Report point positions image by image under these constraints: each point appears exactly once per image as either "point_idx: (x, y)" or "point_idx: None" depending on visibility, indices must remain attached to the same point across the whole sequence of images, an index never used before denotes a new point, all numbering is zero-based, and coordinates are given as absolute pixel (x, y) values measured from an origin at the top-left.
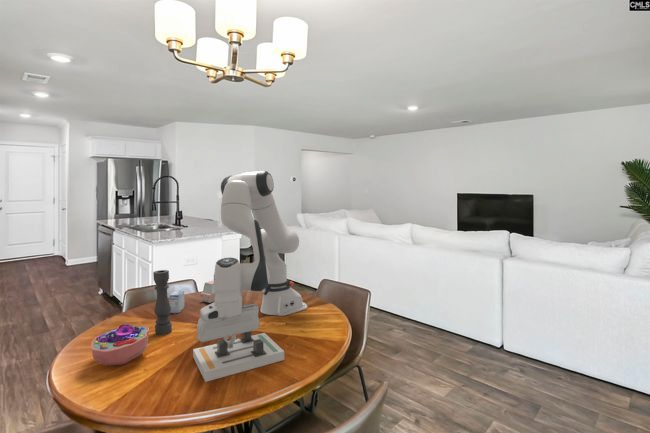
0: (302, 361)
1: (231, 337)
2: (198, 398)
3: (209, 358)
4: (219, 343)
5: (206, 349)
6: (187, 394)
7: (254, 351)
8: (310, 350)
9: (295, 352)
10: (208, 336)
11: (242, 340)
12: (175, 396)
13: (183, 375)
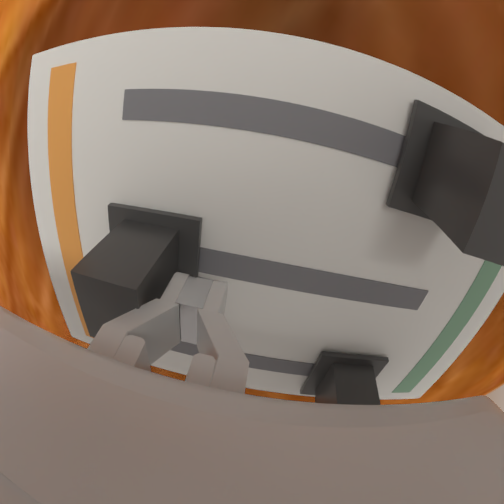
0: (424, 393)
1: (209, 340)
2: None
3: (80, 249)
4: (89, 322)
5: (82, 99)
6: (54, 322)
7: (327, 377)
8: (494, 356)
9: (473, 346)
10: None
11: (410, 164)
12: (32, 307)
13: (27, 214)
